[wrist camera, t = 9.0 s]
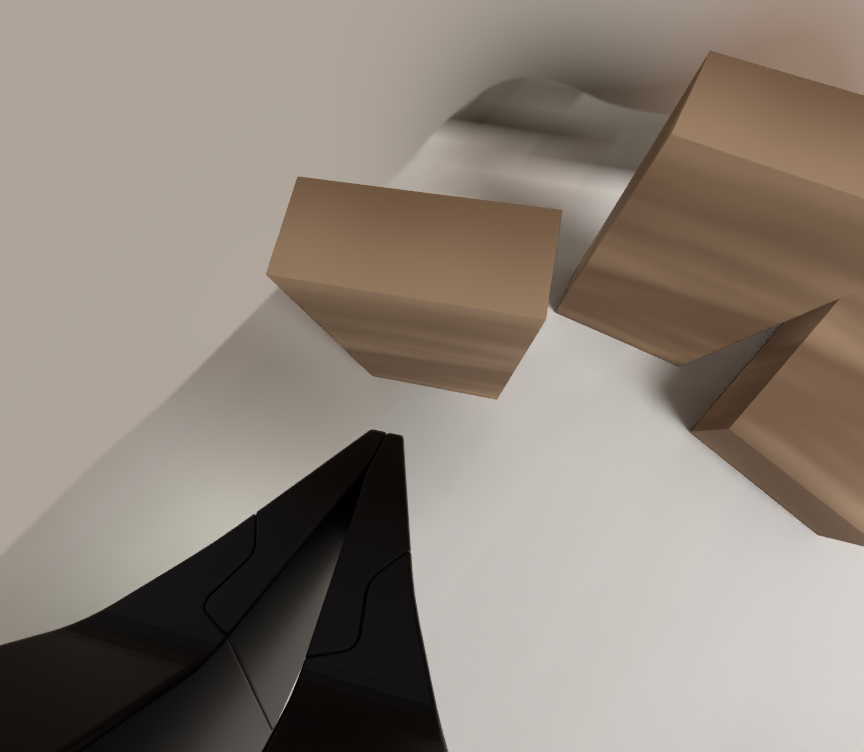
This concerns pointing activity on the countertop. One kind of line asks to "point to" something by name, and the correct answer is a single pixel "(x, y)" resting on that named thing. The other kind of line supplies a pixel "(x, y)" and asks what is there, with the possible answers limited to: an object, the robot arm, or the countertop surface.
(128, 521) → the countertop surface
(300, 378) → the countertop surface
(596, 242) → the light brown wooden block
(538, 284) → the tile two
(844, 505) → the wooden block
